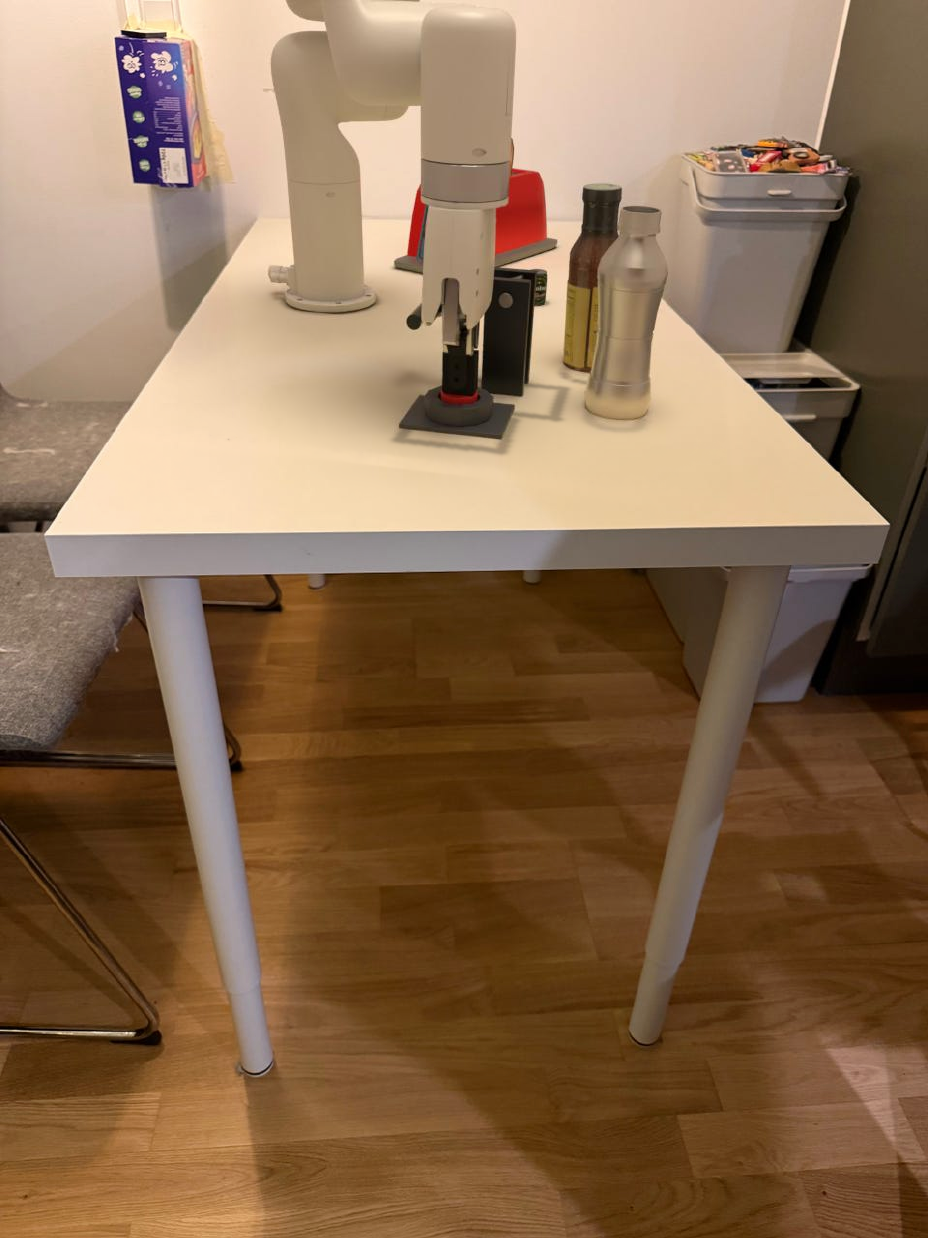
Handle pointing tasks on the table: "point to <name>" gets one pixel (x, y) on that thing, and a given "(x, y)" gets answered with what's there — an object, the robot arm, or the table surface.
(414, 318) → the lever
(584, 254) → the sauce bottle
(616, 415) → the plastic bottle
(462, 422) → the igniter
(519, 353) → the bracket
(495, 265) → the toaster
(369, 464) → the table surface
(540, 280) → the beer can
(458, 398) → the button
